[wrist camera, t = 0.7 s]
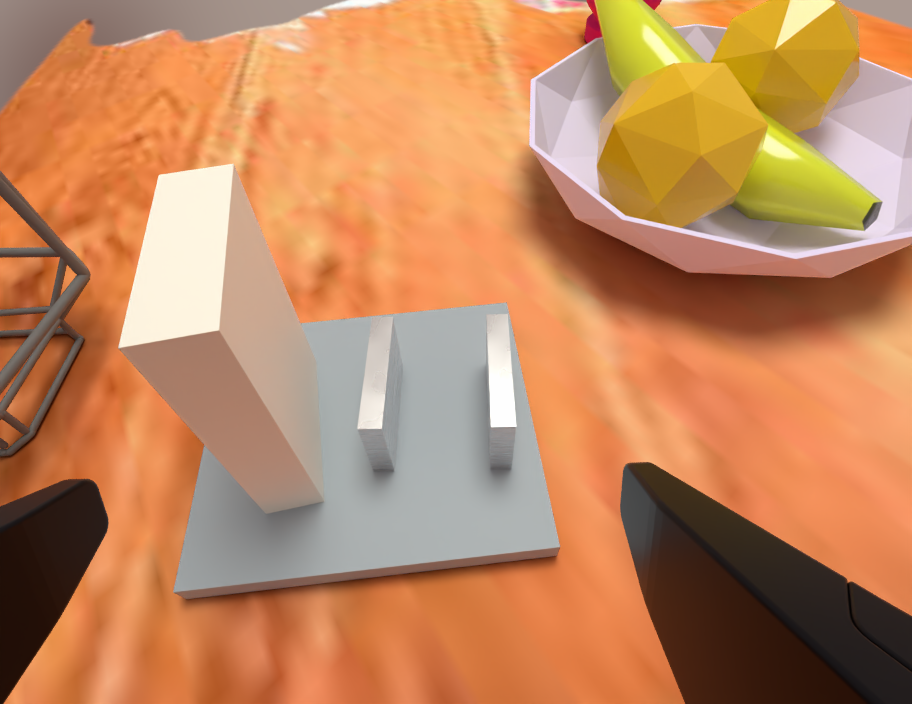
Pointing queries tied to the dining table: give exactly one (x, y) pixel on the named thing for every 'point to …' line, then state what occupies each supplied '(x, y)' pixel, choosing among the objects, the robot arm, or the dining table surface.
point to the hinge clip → (385, 394)
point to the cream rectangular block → (226, 338)
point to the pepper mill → (593, 22)
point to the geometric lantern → (50, 321)
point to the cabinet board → (384, 474)
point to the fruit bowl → (732, 139)
